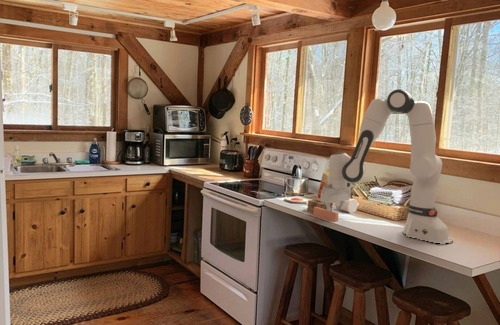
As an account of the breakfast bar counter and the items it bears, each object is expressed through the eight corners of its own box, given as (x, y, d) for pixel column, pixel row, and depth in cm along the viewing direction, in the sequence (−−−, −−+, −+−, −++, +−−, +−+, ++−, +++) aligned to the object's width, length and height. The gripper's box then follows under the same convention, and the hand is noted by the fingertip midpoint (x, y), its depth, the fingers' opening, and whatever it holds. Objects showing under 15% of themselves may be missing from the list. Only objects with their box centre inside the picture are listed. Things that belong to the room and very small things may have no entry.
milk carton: (316, 198, 285) (319, 167, 282) (328, 197, 288) (331, 167, 286) (324, 201, 276) (327, 169, 274) (336, 201, 280) (339, 169, 278)
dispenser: (331, 213, 246) (332, 202, 245) (320, 215, 240) (321, 204, 239) (318, 209, 253) (318, 199, 252) (307, 211, 247) (308, 200, 247)
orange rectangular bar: (337, 221, 230) (338, 213, 229) (335, 222, 228) (335, 213, 228) (315, 214, 241) (316, 206, 240) (313, 215, 239) (313, 207, 239)
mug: (347, 213, 248) (348, 199, 247) (334, 209, 256) (335, 196, 255) (361, 212, 254) (363, 198, 253) (348, 208, 263) (349, 194, 262)
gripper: (328, 186, 219) (326, 213, 220) (353, 183, 232) (351, 209, 234) (318, 184, 223) (316, 211, 225) (343, 181, 237) (341, 206, 238)
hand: (334, 210), depth 229 cm, fingers open, 8 cm apart
